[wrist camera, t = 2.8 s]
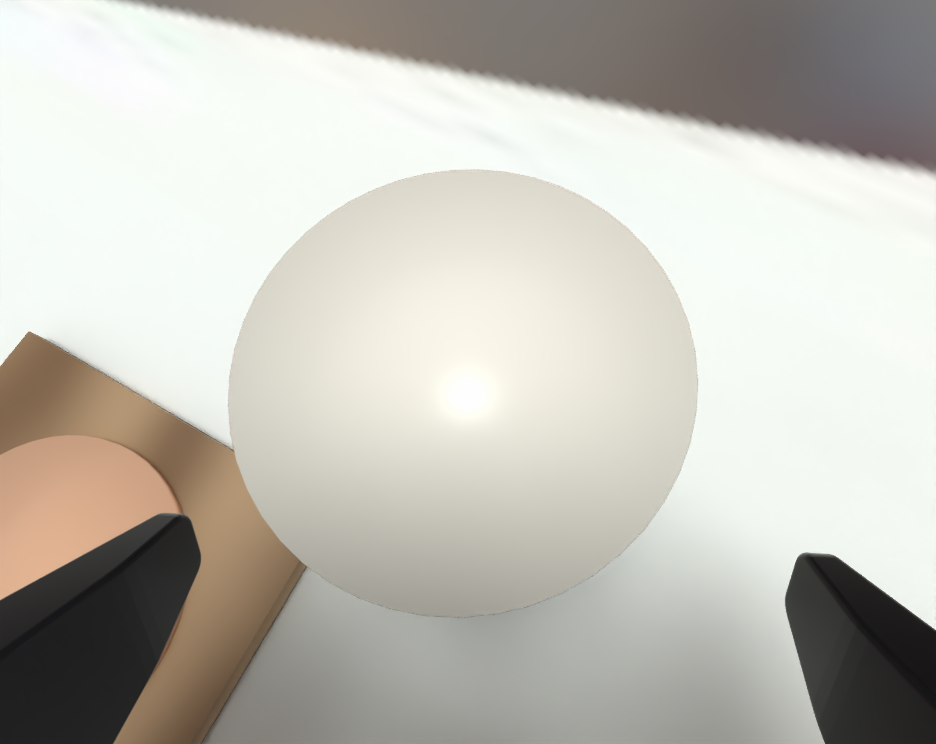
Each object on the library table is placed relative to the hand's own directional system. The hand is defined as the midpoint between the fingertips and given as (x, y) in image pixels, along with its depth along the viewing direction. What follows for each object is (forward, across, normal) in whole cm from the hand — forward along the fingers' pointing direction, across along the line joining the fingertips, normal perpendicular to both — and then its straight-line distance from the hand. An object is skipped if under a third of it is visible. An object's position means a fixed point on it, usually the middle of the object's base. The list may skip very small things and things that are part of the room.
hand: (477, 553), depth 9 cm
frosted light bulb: (+8, 0, +5) cm, 9 cm away
